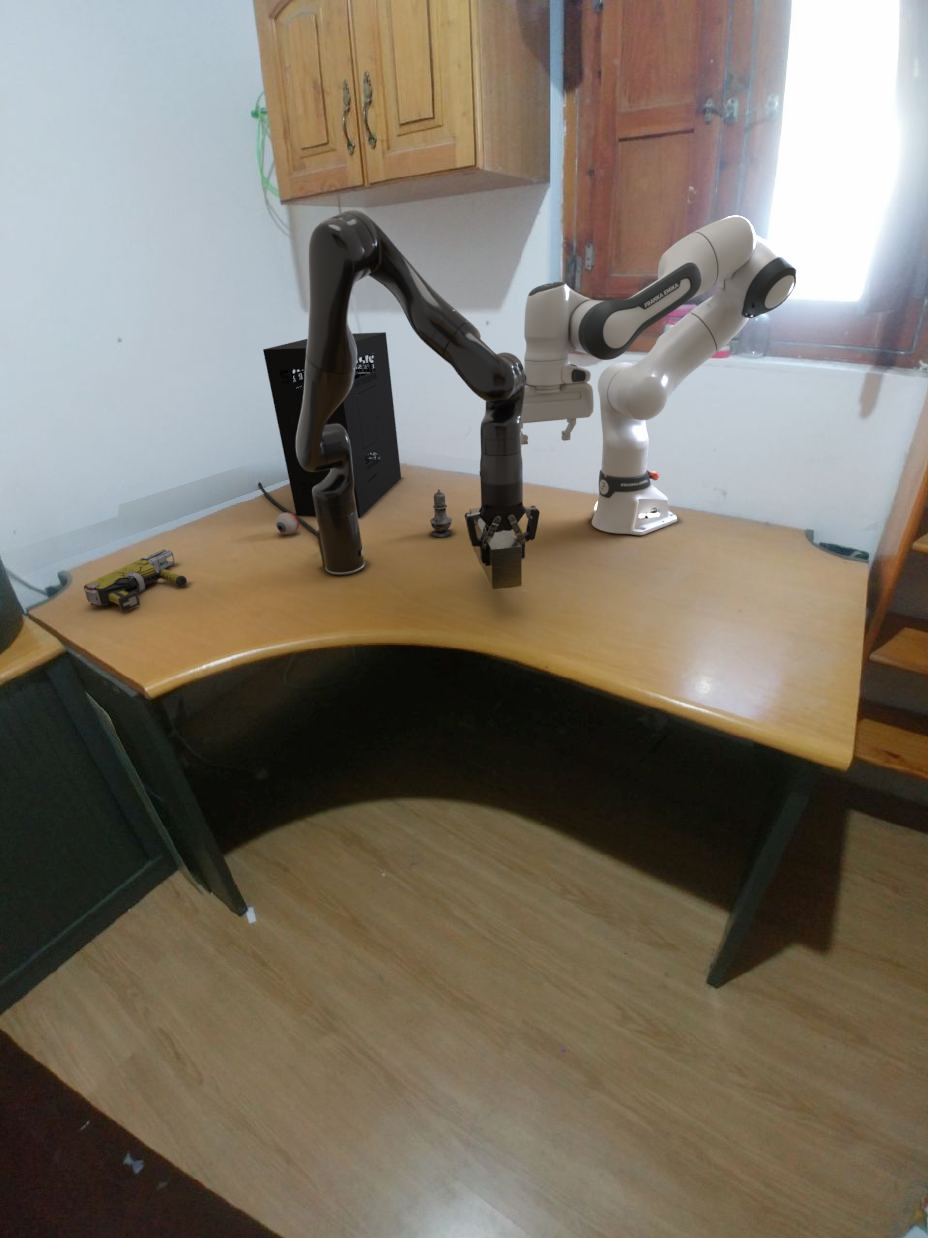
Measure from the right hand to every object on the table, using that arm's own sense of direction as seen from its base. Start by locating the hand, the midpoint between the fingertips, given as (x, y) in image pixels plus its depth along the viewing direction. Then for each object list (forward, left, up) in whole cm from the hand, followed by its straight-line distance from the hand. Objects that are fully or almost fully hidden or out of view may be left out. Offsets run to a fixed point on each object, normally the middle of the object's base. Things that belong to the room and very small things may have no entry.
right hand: (544, 441), depth 130 cm
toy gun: (+86, -32, -27) cm, 96 cm away
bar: (+19, +12, -20) cm, 30 cm away
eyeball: (+51, -48, -27) cm, 76 cm away
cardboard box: (+27, -72, -27) cm, 81 cm away
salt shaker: (+15, -27, -27) cm, 41 cm away
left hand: (+21, +20, -16) cm, 33 cm away
